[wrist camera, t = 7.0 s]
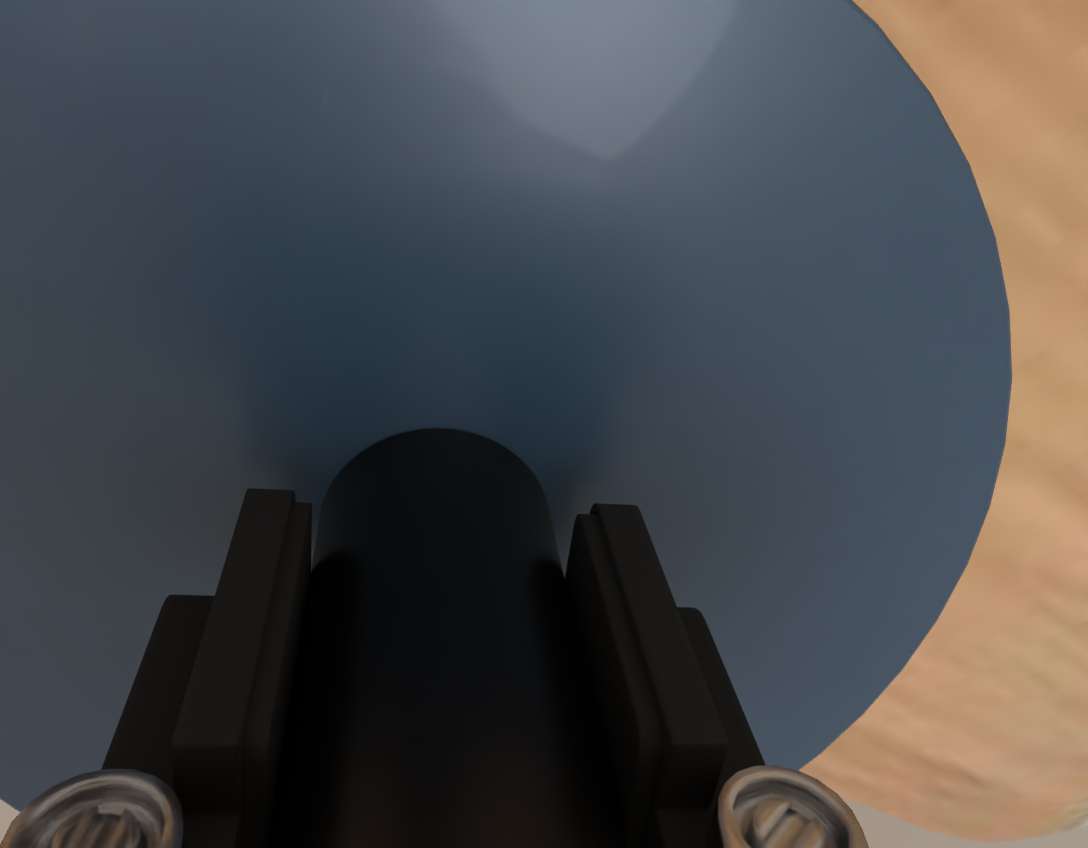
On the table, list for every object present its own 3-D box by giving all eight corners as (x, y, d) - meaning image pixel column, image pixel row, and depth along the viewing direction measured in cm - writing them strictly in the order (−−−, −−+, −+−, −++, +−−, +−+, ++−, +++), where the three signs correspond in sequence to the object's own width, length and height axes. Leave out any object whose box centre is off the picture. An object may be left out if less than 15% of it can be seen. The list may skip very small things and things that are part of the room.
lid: (136, 938, 18) (-29, 1537, 11) (-536, 38, 10) (-2521, 271, 3) (966, 725, 18) (1292, 1197, 11) (975, -347, 10) (2141, -914, 3)
